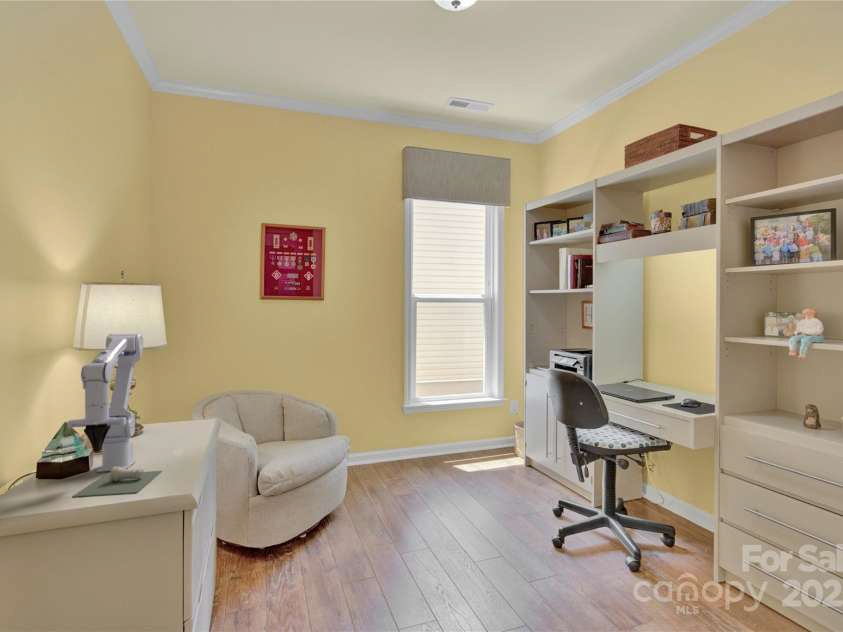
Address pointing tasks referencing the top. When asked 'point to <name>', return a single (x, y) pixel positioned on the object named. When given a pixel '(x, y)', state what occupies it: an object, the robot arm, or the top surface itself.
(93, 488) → the mat
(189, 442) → the top surface
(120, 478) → the rook chess piece
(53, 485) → the top surface
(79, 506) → the top surface
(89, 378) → the robot arm
